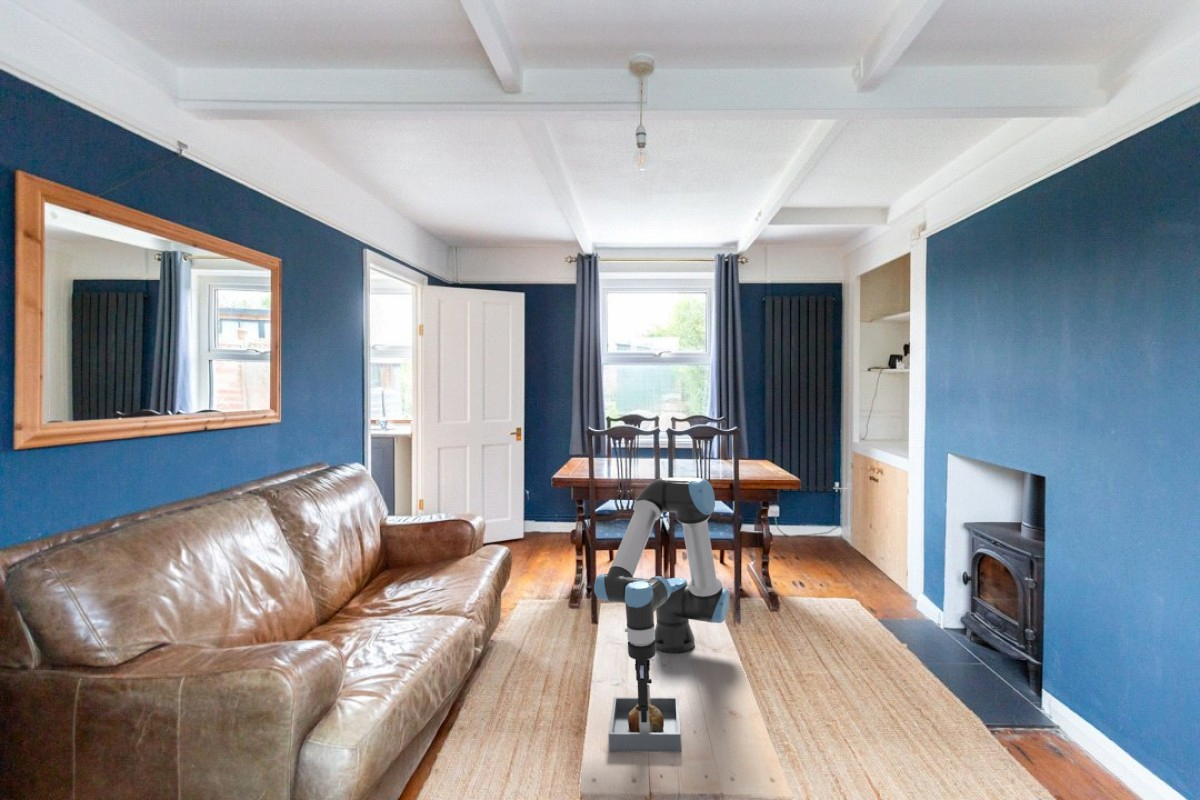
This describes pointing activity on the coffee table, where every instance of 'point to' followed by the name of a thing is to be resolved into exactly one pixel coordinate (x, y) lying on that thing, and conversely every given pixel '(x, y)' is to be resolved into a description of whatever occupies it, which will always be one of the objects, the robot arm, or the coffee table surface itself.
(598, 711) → the coffee table surface
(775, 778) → the coffee table surface
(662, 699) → the grey tray
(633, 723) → the bread roll
